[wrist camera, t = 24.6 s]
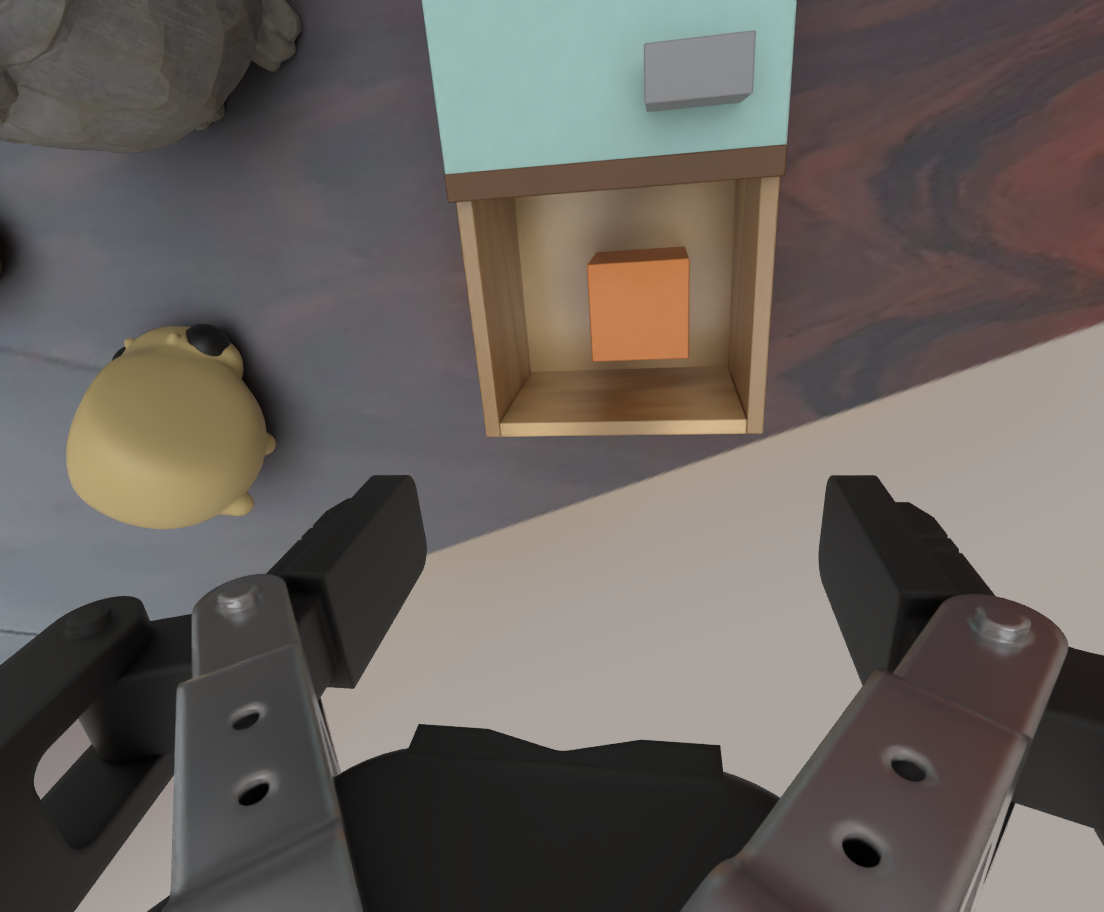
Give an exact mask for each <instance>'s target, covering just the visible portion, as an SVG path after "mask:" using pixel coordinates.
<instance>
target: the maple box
mask: <svg viewBox="0 0 1104 912" xmlns="http://www.w3.org/2000/svg"><path fill="white" fill-rule="evenodd" d="M779 185H780V176H777V177H764V178H752V179H739V180H727V181H714V182H702V183H689V184H677V185H664V186H652V187H639V188H627V189H614V190H602V191H589V192H577V193H564V194H552V195H539V196H527V197H514V198H502V199H489V200H476V201H464V202H456V207H457V214H458V222H459V230H460V237H461V245H462V253H463V260H464V268H465V275H466V283H467V291H468V298H469V306H470V314H471V321H472V329H473V337H474V344H475V352H476V360H477V367H478V375H479V382H480V390H481V398H482V405H483V413H484V421H485V428H486V436H487V437H500V436H502V437H507V436H587V435H667V434H744V433H748V434H756V433H763V425H764V410H765V395H766V380H767V365H768V350H769V335H770V320H771V305H772V290H773V275H774V260H775V245H776V230H777V215H778V200H779ZM682 246H685V247H686V250H687V253H688V256H689V259H690V275H689V357H688V358H684V359H657V360H630V361H604V362H593V361H592V347H591V329H590V312H589V294H588V277H587V265H588V263H589V262H590V260H591V259H592V258H593V256H594V255H595V253H596V252H608V251H623V250H637V249H652V248H667V247H682Z"/></svg>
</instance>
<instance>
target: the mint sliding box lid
mask: <svg viewBox="0 0 1104 912" xmlns="http://www.w3.org/2000/svg"><path fill="white" fill-rule="evenodd" d="M796 4H797V0H422V6H423V14H424V21H425V28H426V36H427V43H428V51H429V58H430V65H431V73H432V80H433V88H434V95H435V102H436V110H437V117H438V125H439V132H440V139H441V147H442V154H443V162H444V169H445V183H446V191H447V198H448V202H449V203H451V202H464V201H476V200H489V199H502V198H514V197H527V196H539V195H552V194H564V193H577V192H589V191H602V190H614V189H627V188H639V187H652V186H664V185H677V184H689V183H702V182H714V181H727V180H739V179H752V178H764V177H777V176H784V175H785V171H786V157H787V134H788V119H789V105H790V90H791V76H792V62H793V47H794V33H795V18H796Z"/></svg>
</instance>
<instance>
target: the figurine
mask: <svg viewBox="0 0 1104 912" xmlns="http://www.w3.org/2000/svg"><path fill="white" fill-rule="evenodd" d="M301 31H302V29H301V22H300V18H299V17H298V15H297V14H296V13H295V11H294V10H293V9H292V8H291V6H290V5H289V4H288V3H287V2H286V1H285V0H0V140H3V141H7V142H12V143H28V144H31V145H35V146H44V147H54V148H63V149H74V150H98V151H109V152H115V153H139V152H145V151H148V150H153V149H158V148H162V147H167V146H170V145H172V144H174V143H176V142H178V141H179V140H181V139H183V138H184V137H185V136H186V135H188V134H189V133H190V132H191V131H193V130H194V129H196V130H198V131H201V130H204V129H206V128H208V127H209V126H210V125H211V123H212V122H216V121H218V120H220V119H222V118H223V117H224V115H225V107H224V101H225V100H226V99H227V97H228V95H229V94H230V93H231V92H232V91H233V90H234V89H235V87H236V86H237V85H238V83H239V82H240V81H241V79H242V78H243V76H244V74H245V72H246V71H247V69H248V67H249V65H250V62H251V60H252V61H253V62H255V63H257V64H258V65H260V66H261V67H263V68H265V69H267V70H269V71H276V70H278V69H279V68H280V66H281V63H282V61H285V60H287V59H289V58H291V57H292V56H293V55H294V54H295V52H296V47H295V39H296V38H297V36H298V35H299V34H300V32H301Z"/></svg>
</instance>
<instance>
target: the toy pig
mask: <svg viewBox="0 0 1104 912" xmlns="http://www.w3.org/2000/svg"><path fill="white" fill-rule="evenodd" d="M124 344H125V347H123V348H121V349H120V350H119V351H118V352H117V353H116V354H115V355H114V357H113V359H112V361H111V362H110V363H109V364H108V365H107V366H105V367H104V368H103V370H102V371H101V372H100V373H99V374H98V375H97V377H96V378H95V379H94V381H93V382H92V384H91V385H90V387H89V388H88V390H87V391H86V393H85V395H84V397H83V399H82V401H81V403H80V405H79V407H78V409H77V411H76V414H75V416H74V419H73V422H72V425H71V428H70V432H69V436H68V441H67V449H66V462H67V470H68V475H69V478H70V481H71V484H72V486H73V488H74V490H75V491H76V493H77V494H78V495H79V496H80V497H81V498H82V499H83V500H84V501H85V502H86V503H87V504H89V505H90V506H91V507H93V508H94V509H96V510H98V511H99V512H101V513H103V514H105V515H107V516H109V517H111V518H113V519H116V520H118V521H121V522H124V523H127V524H130V525H134V526H139V527H144V528H153V529H174V528H182V527H187V526H191V525H195V524H198V523H201V522H204V521H206V520H208V519H211V518H213V517H215V516H217V515H222V514H223V515H231V516H243V515H246V514H248V513H249V512H250V511H251V510H252V509H253V507H254V500H253V498H252V496H251V495H250V494H249V493H248V490H249V488H250V487H251V486H252V484H253V483H254V481H255V480H256V478H257V476H258V474H259V472H260V470H261V467H262V464H263V461H264V457H265V455H268V454H270V453H272V452H273V451H274V449H275V447H276V441H275V439H274V437H273V436H272V435H270V434H269V433H267V432H266V425H265V420H264V416H263V413H262V411H261V408H260V406H259V404H258V402H257V400H256V399H255V397H254V396H253V394H252V393H251V391H250V390H249V389H248V387H247V386H246V385H245V383H244V382H243V380H242V375H243V361H242V357H241V355H240V353H239V351H238V350H237V349H236V347H235V346H234V345H233V344H231V343H230V342H229V339H228V337H227V336H226V334H225V333H224V332H223V331H222V330H221V329H219V328H217V327H215V326H213V325H209V324H198V325H194V326H192V327H188V326H169V327H161V328H157V329H153V330H151V331H149V332H146V333H145V334H143V335H141V336H140V337H138V338H137V339H133V338H127V339H126V340H125V342H124Z"/></svg>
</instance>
